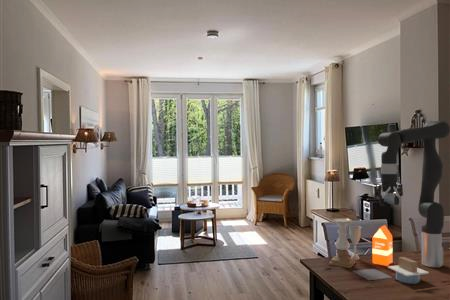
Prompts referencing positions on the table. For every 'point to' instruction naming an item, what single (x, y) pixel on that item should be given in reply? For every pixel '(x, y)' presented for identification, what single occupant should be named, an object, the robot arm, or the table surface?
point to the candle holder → (342, 245)
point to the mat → (372, 274)
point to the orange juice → (382, 247)
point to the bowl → (408, 278)
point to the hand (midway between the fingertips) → (389, 205)
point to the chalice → (355, 238)
